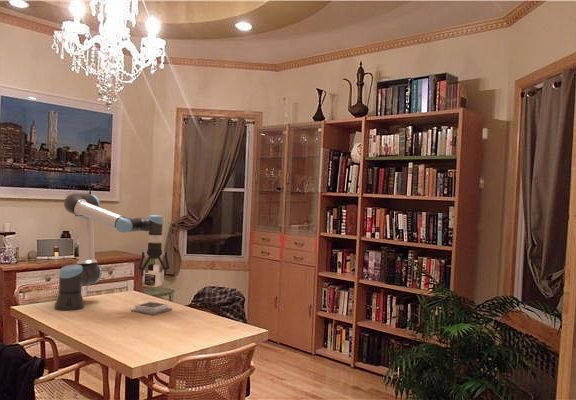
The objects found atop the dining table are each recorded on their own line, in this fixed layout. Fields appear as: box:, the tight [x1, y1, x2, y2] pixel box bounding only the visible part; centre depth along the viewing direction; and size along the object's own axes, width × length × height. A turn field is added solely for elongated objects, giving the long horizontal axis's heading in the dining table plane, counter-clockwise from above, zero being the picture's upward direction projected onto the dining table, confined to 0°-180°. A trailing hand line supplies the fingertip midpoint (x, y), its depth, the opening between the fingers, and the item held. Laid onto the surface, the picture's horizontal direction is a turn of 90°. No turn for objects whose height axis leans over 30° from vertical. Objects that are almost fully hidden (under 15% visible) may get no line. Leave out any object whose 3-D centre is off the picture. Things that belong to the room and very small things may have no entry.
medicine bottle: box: [143, 263, 163, 288], centre depth 266 cm, size 7×7×12 cm
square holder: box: [130, 301, 173, 316], centre depth 266 cm, size 16×16×3 cm
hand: (153, 281), depth 266 cm, fingers closed on medicine bottle, 10 cm apart
